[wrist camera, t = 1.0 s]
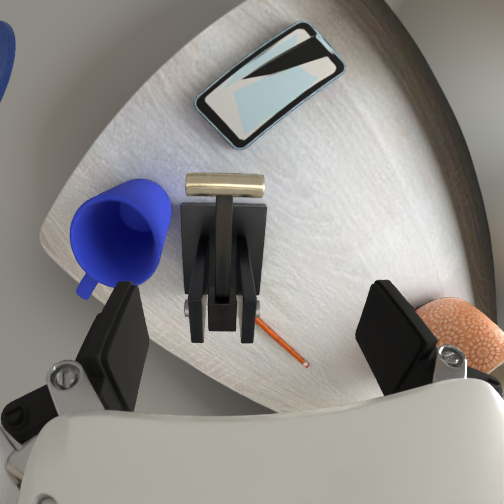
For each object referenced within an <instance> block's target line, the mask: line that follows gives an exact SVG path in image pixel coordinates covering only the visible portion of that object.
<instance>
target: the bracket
mask: <svg viewBox="0 0 504 504" xmlns="http://www.w3.org/2000/svg"><path fill="white" fill-rule="evenodd" d="M266 214H267V207H266V205H265V204H236V203H233V208H232V233H231V262H230V287H236V295H237V299H238V312H239V325H240V337H241V343H253V340H254V329H255V318H259V317H260V302H259V301H257V297H256V295H259V292H260V282H261V271H262V260H263V249H264V237H265V226H266ZM215 216H216V203H182V204H181V238H182V259H183V275H184V289H185V294H189V295H188V300H185V304H184V313H185V317H189V322H190V333H191V342H192V343H203V342H204V329H205V315H206V302H207V295H208V292H209V287H215Z"/></svg>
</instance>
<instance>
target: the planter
mask: <svg viewBox="0 0 504 504" xmlns="http://www.w3.org/2000/svg"><path fill="white" fill-rule="evenodd" d="M416 313H417V314H418V315H419V316H420V318H421V319H422V320H423V321H424V323H425V324H426V325H427V326H428V328H429V329H430V330H431V332H432V333H433V334H434V335H435V337H436V338H437V339H438V343H437V344H436V347H437V348H439V347H440V346H441V345H443V344H450V345H454V346H456V347H458V348H459V349H460V350H461V351H462V352H463V353H464V355H465V357H466V360H467V366H469V367H472V368H474V369H477V370H479V371H482V372H484V373H487V374H489V375H492V376H493V377H496V378H497V379H498V380H499V382H500V383H501V385H502V388H503V390H504V332H503V331H502V330H501V329H500V328H499V327H498V326H497V325H496V324H495V323H493V322H492V321H491V320H490V319H489V318H488V317H487V316H486V315H484V314H483V313H482V312H481V311H479V310H478V309H477V308H475V307H474V306H473V305H471V304H470V303H468V302H466V301H464V300H462V299H459V298H454V297H446V298H440V299H436V300H433V301H431V302H429V303H427V304H425V305H423V306H421V307H420V308H418V309H417V310H416Z"/></svg>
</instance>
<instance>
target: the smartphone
mask: <svg viewBox="0 0 504 504" xmlns="http://www.w3.org/2000/svg"><path fill="white" fill-rule="evenodd" d="M345 70H346V65H345V63H344V61H343V60H342V59H341V58H340V56H339V55H338V54H337V53H336V52H335V50H334V49H333V48H332V47H331V46H330V45H329V43H328V42H327V41H326V40H325V39H324V38H323V37H322V35H321V34H320V33H319V32H318V31H317V30H316V29H315V28H314V27H313V26H312V25H311V24H310V23H309V22H306V21H298V22H297V23H295V24H293V25H292V26H290V27H288V28H287V29H285V30H284V31H282V32H280V33H279V34H277V35H276V36H274V37H273V38H271V39H270V40H268V41H267V42H265V43H264V44H262V45H261V46H260V47H258V48H257V49H255V50H254V51H253V52H251V53H250V54H249V55H247V56H246V57H245V58H243V59H242V60H241V61H239V62H238V63H237V64H235V65H234V66H233V67H231V68H230V69H229V70H228V71H226V72H225V73H224V74H223V75H221V76H220V77H219V78H218V79H217V80H215V81H214V82H213V83H212V84H211V85H209V86H208V87H207V88H206V89H205V90H204V91H202V92H201V93H200V94H199V95H198V96H197V97H196V99H195V101H194V106H195V108H196V109H197V111H198V112H199V113H200V114H201V115H202V116H203V117H204V118H205V119H206V120H207V121H208V122H209V123H210V124H211V125H212V126H213V127H214V128H215V129H216V130H217V131H218V132H219V133H220V134H221V135H222V136H223V137H224V138H225V139H226V141H227V142H228V143H229V144H230V145H231V146H232V147H233V148H235V149H238V150H243V149H245V148H247V147H248V146H249V145H250V144H252V143H253V142H254V141H255V140H256V139H258V138H259V137H260V136H261V135H262V134H264V133H265V132H266V131H267V130H269V129H270V128H271V127H272V126H274V125H275V124H276V123H277V122H279V121H280V120H281V119H282V118H284V117H285V116H286V115H287V114H289V113H290V112H291V111H293V110H294V109H295V108H297V107H298V106H299V105H301V104H302V103H303V102H304V101H306V100H307V99H309V98H310V97H312V96H313V95H314V94H316V93H317V92H319V91H320V90H321V89H322V88H324V87H325V86H326V85H328V84H329V83H331V82H332V81H333V80H335V79H336V78H338V77H339V76H341V75H342V74H343V73H344V72H345Z"/></svg>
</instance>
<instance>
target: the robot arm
mask: <svg viewBox="0 0 504 504" xmlns="http://www.w3.org/2000/svg"><path fill="white" fill-rule="evenodd" d="M355 337H356V341H357V343H358V344H359V346H360V348H361V350H362V352H363V354H364V356H365V358H366V360H367V362H368V364H369V366H370V368H371V370H372V372H373V374H374V376H375V378H376V380H377V382H378V384H379V386H380V388H381V390H382V392H383V395H384V396H383V397H379V398H375V399H370V400H366V401H361V402H356V403H351V404H345V405H340V406H334V407H328V408H321V409H314V410H306V411H298V412H289V413H278V414H266V415H249V416H248V415H247V416H185V415H165V414H151V413H139V412H134V408H135V404H136V399H137V394H138V389H139V385H140V380H141V376H142V372H143V367H144V363H145V359H146V355H147V351H148V347H149V335H148V331H147V326H146V322H145V317H144V313H143V308H142V303H141V298H140V292H139V288H138V286H137V285H134V283H133V282H132V281H118V282H117V284H116V286H115V288H114V290H113V291H112V293H111V295H110V297H109V299H108V301H107V303H106V305H105V307H104V308H103V311H102V312H101V313H99V314H98V315H97V316H96V318H95V320H94V322H93V324H92V326H91V328H90V330H89V332H88V334H87V336H86V338H85V340H84V342H83V344H82V347H81V349H80V351H79V353H78V355H77V357H76V360H75V361H73V360H63V361H60V362H58V363H56V364H54V365H53V366H52V367H51V368H50V370H49V371H48V373H47V378H46V380H47V384H46V385H44V386H43V387H41V388H38V389H36V390H34V391H32V392H30V393H28V394H26V395H24V396H22V397H20V398H18V399H16V400H14V401H12V402H10V403H9V404H7V405H6V407H5V408H4V409H3V412H2V414H1V424H0V504H504V393H503V388H502V385H501V383H500V382H499V380H498V379H497V378H496V377H493V376H492V375H489V374H487V373H484V372H482V371H479V370H477V369H474V368H472V367H469V366H467V360H466V357H465V355H464V353H463V352H462V351H461V350H460V349H459V348H458V347H456V346H454V345H450V344H443V345H441V346H440V347H439V348H437V347H436V344H437V343H438V339H437V338H436V337H435V335H434V334H433V333H432V332H431V330H430V329H429V328H428V326H427V325H426V324H425V323H424V321H423V320H422V319H421V318H420V316H419V315H418V314H417V313H416V311H415V310H414V309H413V308H412V306H411V305H410V304H409V303H408V302H407V300H406V299H405V298H404V297H403V296H402V294H401V293H400V292H399V291H398V290H397V288H396V287H395V286H394V285H393V284H392V283H391V281H389V280H376V281H375V282H374V284H372V285H371V287H370V290H369V293H368V296H367V300H366V303H365V306H364V309H363V312H362V315H361V318H360V321H359V324H358V327H357V329H356V333H355Z"/></svg>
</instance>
